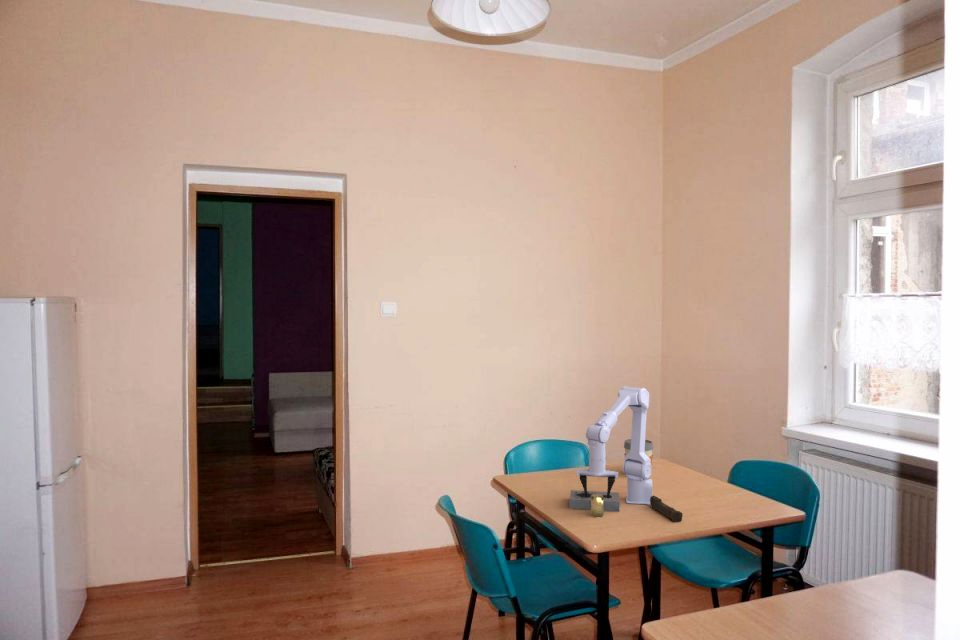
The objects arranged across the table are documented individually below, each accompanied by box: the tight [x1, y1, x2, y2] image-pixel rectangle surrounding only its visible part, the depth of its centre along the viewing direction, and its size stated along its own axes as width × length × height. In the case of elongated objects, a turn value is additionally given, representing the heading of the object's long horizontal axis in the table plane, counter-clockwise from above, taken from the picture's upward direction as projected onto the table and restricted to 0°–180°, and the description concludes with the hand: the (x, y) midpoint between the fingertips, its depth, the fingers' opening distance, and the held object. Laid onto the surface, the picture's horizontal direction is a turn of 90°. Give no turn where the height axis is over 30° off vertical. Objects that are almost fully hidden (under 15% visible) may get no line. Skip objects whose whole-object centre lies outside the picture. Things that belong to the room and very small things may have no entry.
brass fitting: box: [590, 494, 604, 518], centre depth 229 cm, size 4×4×7 cm
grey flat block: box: [569, 489, 621, 512], centre depth 241 cm, size 18×12×4 cm, turn 80°
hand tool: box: [649, 495, 683, 523], centre depth 231 cm, size 19×4×5 cm, turn 11°
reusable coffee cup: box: [623, 438, 654, 464], centre depth 283 cm, size 12×12×15 cm
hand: (597, 497), depth 228 cm, fingers open, 7 cm apart
